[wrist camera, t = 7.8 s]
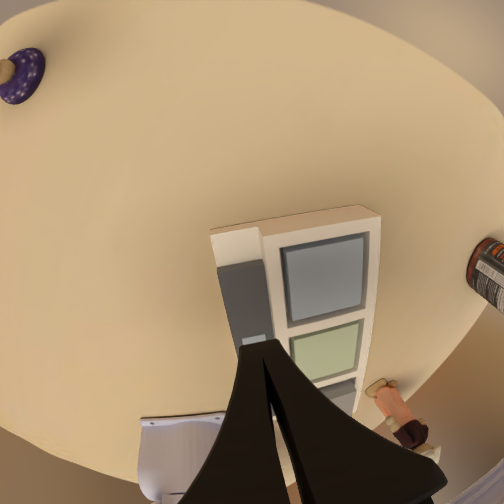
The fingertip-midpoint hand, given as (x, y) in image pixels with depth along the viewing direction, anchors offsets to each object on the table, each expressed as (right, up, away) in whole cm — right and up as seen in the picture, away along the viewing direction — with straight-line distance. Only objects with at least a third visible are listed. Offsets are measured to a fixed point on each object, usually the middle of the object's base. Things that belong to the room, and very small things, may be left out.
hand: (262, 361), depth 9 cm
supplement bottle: (+24, +3, +13) cm, 27 cm away
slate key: (+4, +3, +8) cm, 10 cm away
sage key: (+5, -3, +11) cm, 12 cm away
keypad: (+3, -3, +12) cm, 13 cm away
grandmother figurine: (+15, -12, +18) cm, 26 cm away
